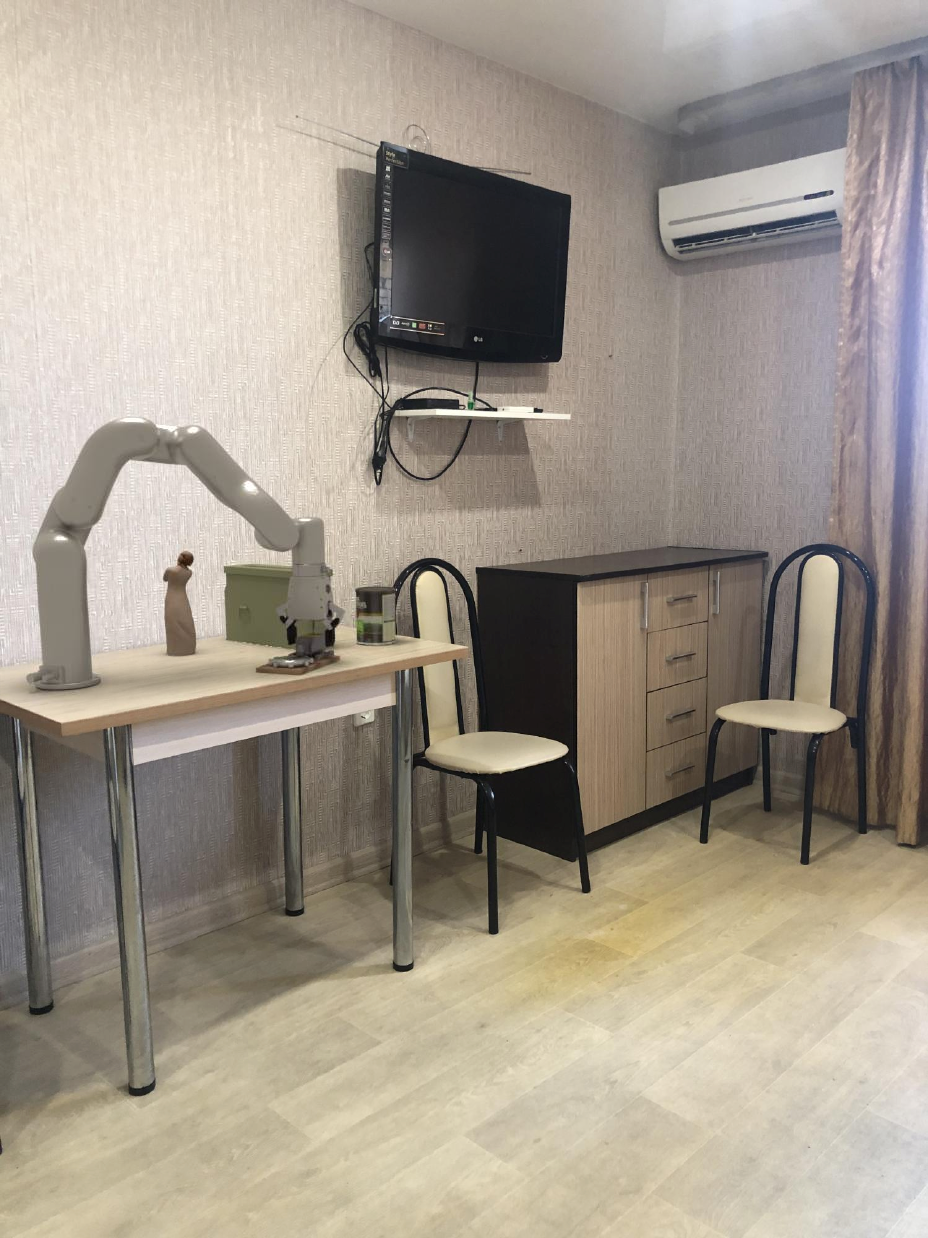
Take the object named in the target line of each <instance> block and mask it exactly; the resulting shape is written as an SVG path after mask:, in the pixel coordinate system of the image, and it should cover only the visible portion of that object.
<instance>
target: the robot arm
mask: <svg viewBox="0 0 928 1238" xmlns="http://www.w3.org/2000/svg"><path fill="white" fill-rule="evenodd" d="M129 461H137V462H145V463H154V464H164V465H174V466H175V465H176V466H177V465H179V466H186V468H188V470H189V471H190V472H191V473H192V474H193V475H194V476H195V477H196V478H197V479H198V480H199V481H200V482H201V483H202V484H203V485H204V486H205V488H206V489H207V490H208V491H209V492H210V493H211V494H212V495H213V497H215V499H216V500H217V501H219V502H220V503H222V504H223V506H226V507H228V508H229V509H231V510H233V511H234V512H236V513H237V514H239V515H240V516H241V517H242V518H243V519H245V521H247V522H248V523H249V524H250V525H251V526H252V527H253V528H254V531H253V533H254V538H255V541H256V542H257V544H258V545H259V546H260V547H262V548H264V549H265V550H269V551H272V552H273V551H274V552H277V553H278V552H279V553H286V552H289V551H291V566H292V575H293V576H292V577H291V578H290V582H289V588H288V601H287V603H285V604H283V605H281V606H279V607H278V608H276V612H277V614H278V616H279V617H280V620H281V622H282V623H283V624H284V626H285V627H286V628H287V640H288V645H292V644H296V639H295V638H296V637H297V627H296V626H295V623H296V622H297V621H298V620H302V621H322V622H323V623H324V625H325V626H326V627H327V630H325V646H326V647H330V646H333V645H334V646H335V642H336V628H337V627H338V626H339V625H340V623H341V622H342V620H343V618H344V616H345V613H346V611H345V609H344V608H342V607H340V606H339V605H336V604H335V603H334V596H333V590H332V584H331V583H330V579H329V577H326V573H329V572H330V569H331V567H330V566H327V564H326V551H325V550H326V546H325V545H326V542H325V540H326V539H325V523H324V520H323V519H322V518H321V517H315V516H314V517H313V516H305V517H304V516H303V517H295V518H291V516H290V515H289V514H288V513H287V512H286V510H284V509H283V507H282V506H281V505H280V504H279V503H278V502H277V501H276V500H275V499H274V498H273V496H271V495H270V494H269V492H267V491H266V490H265V489H263V488H262V487H261V485H259V484H258V483H257V482H256V481H255V479H253V478H252V477H251V476H250V475H249V474H248V473H246V471H245V470H244V469H243V468H242V466H240V465H239V464H238V463H237V461H236V460H235V459H234V458H233V457H232V456H231V455H230V454H229V453H228V452H227V451H226V449H224V447H223V446H222V445H221V443H219V442H218V440H217V439H216V438H215V437H214V436H213V435H212V434H211V433H210V432H209V431H208V429H205V428H204V427H202V426H200V425H196V424H190V425H184V426H175V425H165V424H156V423H154V422H153V421H152V420H150V419H147V418H145V417H141V416H129V417H121V418H118V419H114V420H112V421H109V422H107V423H105V424H103V425H101V426H100V427H99V428H98V429H96V430H95V431H94V432H93V433H92V434H91V435H90V436H89V438H88V439H87V440H86V442H85V443H84V444H83V446H82V448H81V451H80V452H79V454H78V456H77V458H76V460H75V463H74V465H73V467H72V468H71V471H70V474H69V476H68V478H67V479H66V483H65V484H64V486H62V487H60V488H59V489H58V490H57V491H56V493H55V494H54V496H53V498H52V500H51V502H50V505H49V507H48V508H47V511H46V514H45V516H44V519H43V520H42V523H41V526H40V527H39V530H38V533H37V535H36V538H35V541H34V542H33V546H32V558H33V561H34V564H35V573H36V589H37V590H36V591H37V592H36V593H37V605H38V606H37V608H38V618H39V619H38V620H39V621H38V622H39V630H40V632H39V633H40V635H39V636H40V646H41V649H40V650H41V662H42V665H39V667H38V668H39V669H38V671H36V672H32V673H28V674H27V675H26V678H25V679H26V682H27V683H29V684H33V683H35V687H36V688H38V689H42V690H52V691H53V690H54V691H55V690H56V691H57V690H73V689H81V688H86V687H91V686H94V685H98V684H99V683H100V682H101V675H99V674H97V673H93V662H92V645H91V644H92V643H91V631H90V630H91V629H90V616H89V615H90V614H89V612H90V611H89V602H88V559H87V553H86V549H85V545H86V543H87V540H88V539H89V536H90V534H91V531H92V529H93V527H94V526H95V525H96V524H97V523H99V522H100V520H101V519H102V517H103V514H104V513H105V512H104V511H105V508H106V505H107V503H108V502H107V501H108V499H109V497H110V494H111V492H112V490H113V487H114V485H115V483H116V481H117V478H118V477H119V474H120V472H121V471H122V469H123V467H125V465H126V464H127V463H128V462H129ZM286 609H288V617H289V618H288V617H287V615H285V610H286ZM335 614H336V616H335ZM334 616H335V618H334ZM333 618H334V619H333Z"/></svg>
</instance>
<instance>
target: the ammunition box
mask: <svg viewBox="0 0 928 1238" xmlns="http://www.w3.org/2000/svg"><path fill="white" fill-rule="evenodd" d="M223 573H224V574H225V579H226V581H225V582H226V584H225V587H224V590H223V592H224V593H223V594H224V595H223V596H224V612H225V617H224V618H225V636H226V637H225V641H228V642H235V641H237V642H236V643H242V642H246V643H245V644H249V643H252V644H251V645H256V644H259V645H258V646H263V645H268V646H267V647H270V646H272V648H277V647H282V648H281V649H284V648H286V649H285V650H291V649H295V650H294V651H296V644H292V645H288V640H287V628H286V627H285V626H284V624H283V623H282V622H281V620H280V617H279V616H278V614H277V612H276V608H278V607H279V606H281V605H283V604H285V603H287V601H288V588H289V582H290V578H291V577H292V576H293V575H292V565H278V564H277V565H276V564H265V563H264V564H263V563H261V564H260V563H245V564H244V563H243V564H234V565H225V566H224V565H223ZM333 576H334V569H333V568H330V572H329V573H326V577H329V579H330V583H331V581H332V580H331V579H332V578H331V577H333ZM285 615H287V617H288V609H286V610H285ZM288 618H289V617H288ZM295 626H296V627H297V637H299V636H302V635H305V634H309V633H318V634H325V630H327V627H326V626H325V625H324V623H323V622H322V621H302V620H298V621H297V622H296V623H295ZM330 647H332V648H335V644H334V645H333V646H330ZM326 648H327V649H329V648H328V647H326Z"/></svg>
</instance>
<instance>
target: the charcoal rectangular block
mask: <svg viewBox="0 0 928 1238" xmlns="http://www.w3.org/2000/svg"><path fill="white" fill-rule="evenodd" d="M295 639H296V650H295V652H296V656H297V645H300V644H302V645H304V656H308V657H310V658H313V659H315V656H316V655H319V654H321V653H324V652H327V650H326V646H325V634H318V633H309V634H305V635H302V636H299V637H296V638H295Z"/></svg>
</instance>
